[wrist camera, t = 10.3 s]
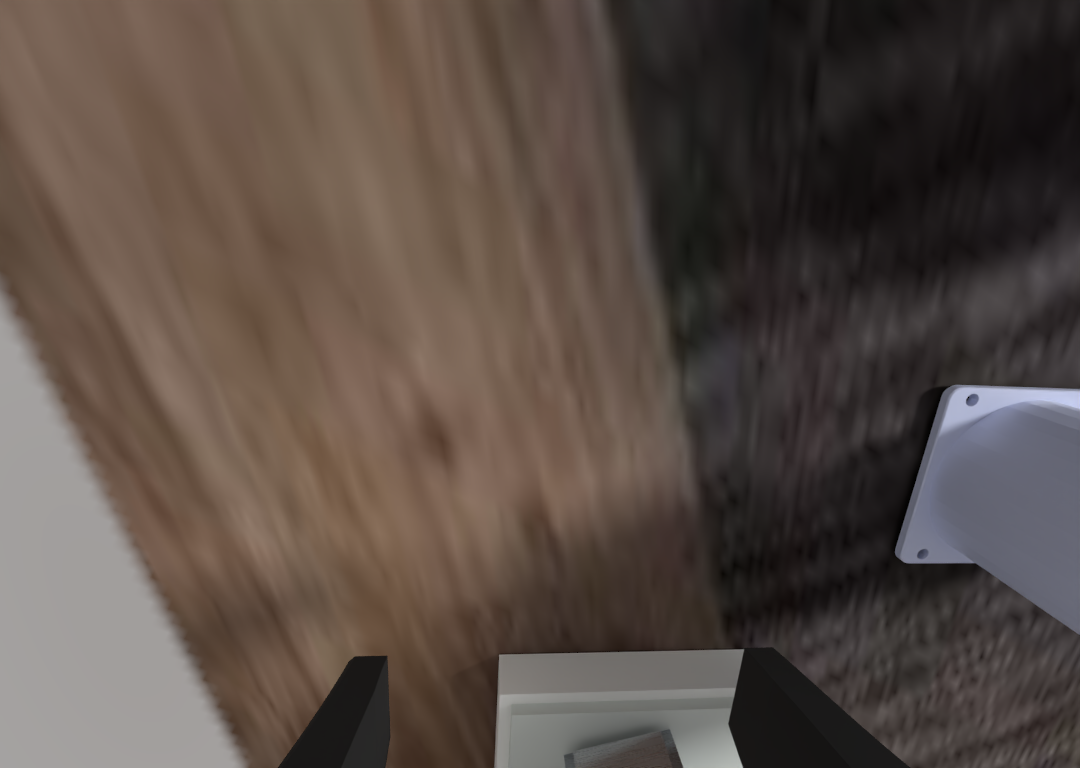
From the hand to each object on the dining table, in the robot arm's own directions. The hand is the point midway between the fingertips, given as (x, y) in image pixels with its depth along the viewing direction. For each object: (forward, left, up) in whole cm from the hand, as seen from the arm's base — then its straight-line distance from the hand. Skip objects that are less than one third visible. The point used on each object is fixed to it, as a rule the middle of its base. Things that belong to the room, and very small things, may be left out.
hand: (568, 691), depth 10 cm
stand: (-5, +15, -10) cm, 19 cm away
